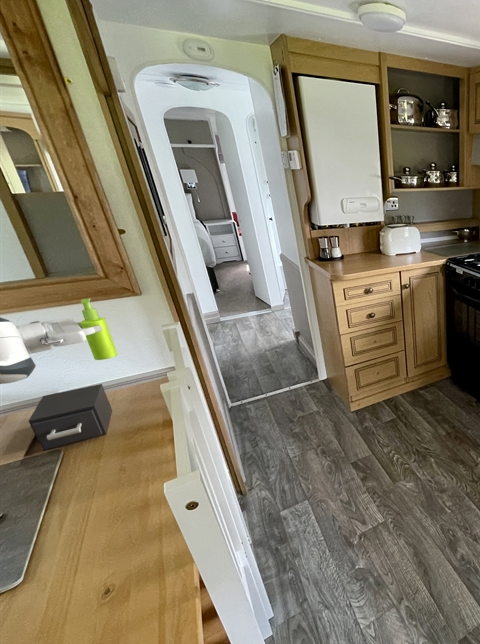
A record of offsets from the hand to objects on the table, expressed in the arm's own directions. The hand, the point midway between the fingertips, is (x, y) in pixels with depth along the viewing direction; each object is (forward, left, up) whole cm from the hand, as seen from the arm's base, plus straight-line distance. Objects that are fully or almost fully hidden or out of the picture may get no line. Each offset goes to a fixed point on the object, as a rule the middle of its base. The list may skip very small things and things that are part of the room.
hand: (99, 325), depth 125 cm
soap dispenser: (-1, 0, -11) cm, 11 cm away
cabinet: (-7, -28, -22) cm, 36 cm away
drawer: (-7, -31, -21) cm, 39 cm away
